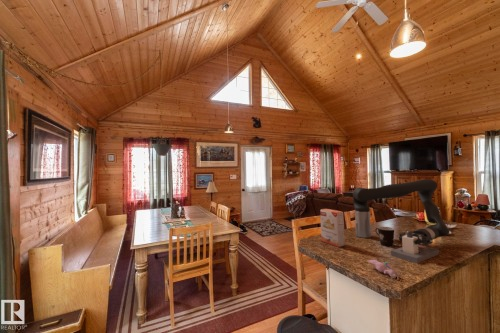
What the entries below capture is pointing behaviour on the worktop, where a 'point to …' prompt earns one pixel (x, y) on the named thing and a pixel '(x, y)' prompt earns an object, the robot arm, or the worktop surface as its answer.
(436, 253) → the socket
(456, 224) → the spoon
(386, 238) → the coffee mug
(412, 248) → the plug
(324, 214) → the cracker box
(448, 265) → the worktop surface
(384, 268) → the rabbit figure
